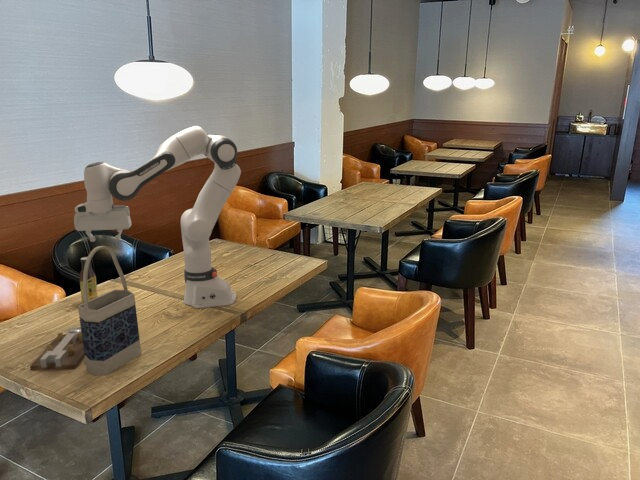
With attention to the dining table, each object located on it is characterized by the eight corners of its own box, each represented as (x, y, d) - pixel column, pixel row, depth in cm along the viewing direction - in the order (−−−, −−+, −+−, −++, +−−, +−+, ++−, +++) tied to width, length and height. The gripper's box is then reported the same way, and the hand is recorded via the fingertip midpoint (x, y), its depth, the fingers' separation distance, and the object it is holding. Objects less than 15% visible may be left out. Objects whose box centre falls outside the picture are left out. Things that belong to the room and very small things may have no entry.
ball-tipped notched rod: (69, 334, 183) (68, 327, 182) (86, 334, 183) (85, 326, 182) (41, 367, 160) (40, 359, 160) (61, 366, 161) (59, 358, 160)
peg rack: (98, 337, 184) (97, 324, 183) (76, 368, 163) (74, 354, 162) (58, 338, 183) (57, 326, 182) (30, 370, 162) (28, 356, 160)
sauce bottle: (92, 306, 211) (86, 261, 205) (79, 305, 212) (73, 260, 207) (101, 300, 217) (96, 256, 212) (88, 299, 218) (83, 255, 213)
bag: (102, 378, 158) (86, 256, 147) (82, 371, 161) (65, 252, 150) (144, 352, 174) (133, 240, 163) (125, 347, 177) (113, 237, 166)
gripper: (131, 202, 195) (135, 237, 199) (76, 204, 193) (81, 239, 197) (126, 206, 189) (131, 241, 193) (70, 208, 187) (75, 244, 191)
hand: (105, 240), depth 195 cm, fingers open, 8 cm apart
